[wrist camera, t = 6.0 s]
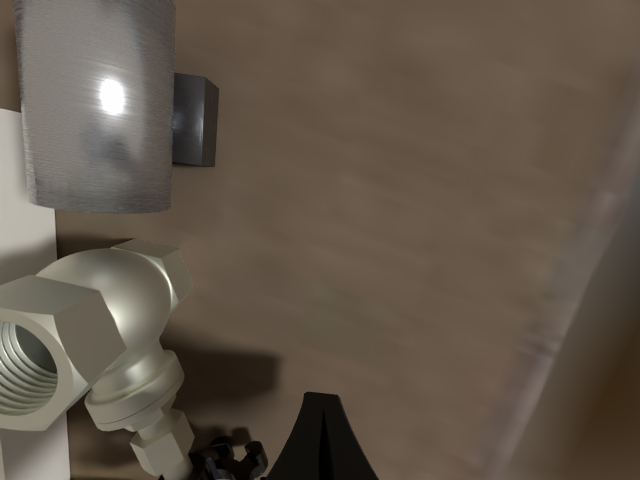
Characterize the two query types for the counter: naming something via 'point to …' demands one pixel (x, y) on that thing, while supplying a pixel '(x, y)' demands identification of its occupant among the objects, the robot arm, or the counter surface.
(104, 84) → the pipe stubs
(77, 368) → the valve
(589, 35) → the counter surface
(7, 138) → the bar
